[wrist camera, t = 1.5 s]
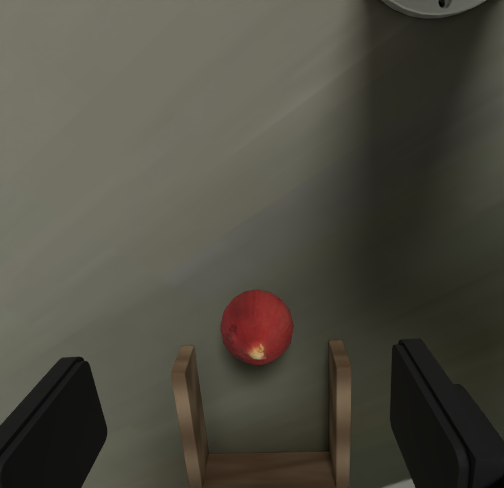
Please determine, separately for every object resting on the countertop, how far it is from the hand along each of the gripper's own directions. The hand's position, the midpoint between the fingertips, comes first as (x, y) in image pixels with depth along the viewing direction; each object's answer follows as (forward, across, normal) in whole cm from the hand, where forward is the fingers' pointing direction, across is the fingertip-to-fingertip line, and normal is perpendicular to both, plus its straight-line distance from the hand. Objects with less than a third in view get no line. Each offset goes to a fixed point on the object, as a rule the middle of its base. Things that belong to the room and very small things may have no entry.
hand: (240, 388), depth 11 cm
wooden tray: (+20, +1, +19) cm, 28 cm away
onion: (+20, +1, +8) cm, 22 cm away
